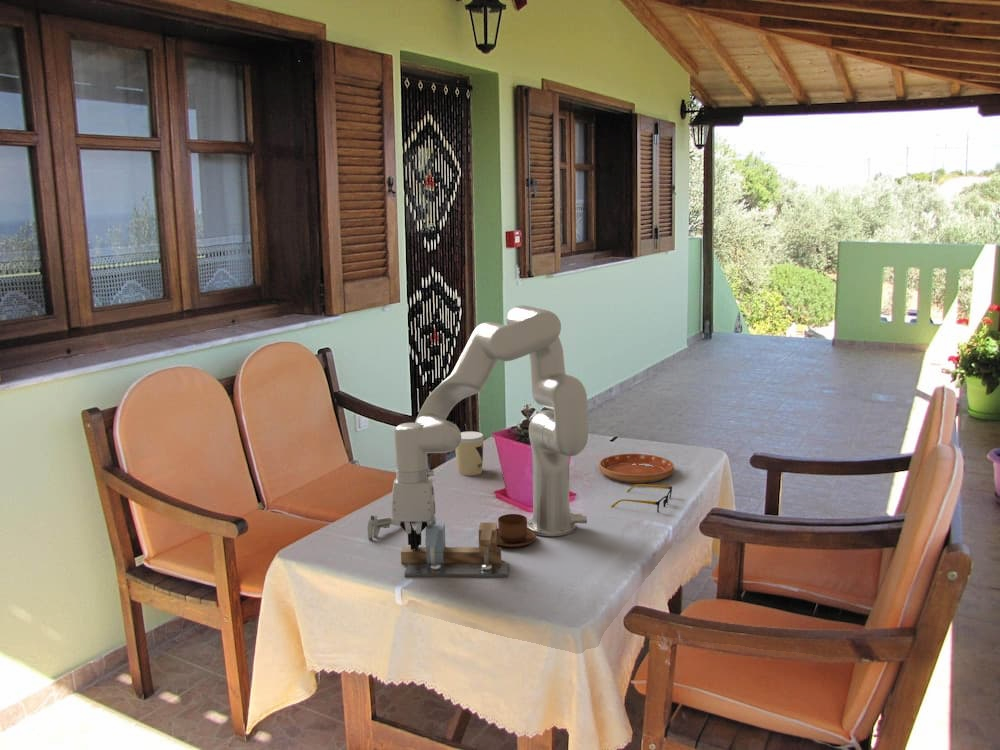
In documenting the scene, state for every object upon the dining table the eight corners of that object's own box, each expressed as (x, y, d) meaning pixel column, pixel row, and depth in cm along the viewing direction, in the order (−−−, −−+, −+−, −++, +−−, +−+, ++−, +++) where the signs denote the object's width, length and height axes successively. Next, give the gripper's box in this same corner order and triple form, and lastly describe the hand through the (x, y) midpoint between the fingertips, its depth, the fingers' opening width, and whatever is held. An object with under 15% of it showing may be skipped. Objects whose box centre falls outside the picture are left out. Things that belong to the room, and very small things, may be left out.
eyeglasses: (660, 515, 253) (661, 501, 252) (610, 508, 259) (610, 495, 258) (674, 499, 266) (675, 486, 265) (626, 492, 272) (626, 479, 271)
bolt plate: (508, 566, 220) (508, 560, 220) (507, 577, 215) (507, 570, 214) (408, 566, 222) (408, 559, 222) (404, 576, 216) (404, 570, 216)
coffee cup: (484, 476, 288) (483, 439, 286) (454, 476, 288) (453, 439, 286) (485, 467, 297) (484, 430, 295) (455, 467, 297) (454, 431, 295)
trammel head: (445, 555, 227) (444, 522, 225) (440, 574, 216) (439, 539, 214) (429, 555, 227) (428, 522, 225) (423, 574, 216) (421, 539, 214)
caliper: (371, 541, 239) (369, 517, 237) (367, 540, 239) (366, 516, 238) (425, 517, 255) (424, 495, 253) (422, 516, 255) (421, 494, 254)
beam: (501, 557, 226) (500, 522, 224) (498, 576, 215) (498, 539, 213) (403, 556, 227) (402, 522, 226) (396, 575, 217) (394, 539, 215)
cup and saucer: (481, 539, 238) (480, 516, 237) (521, 529, 244) (520, 507, 243) (504, 554, 228) (503, 531, 227) (545, 544, 234) (545, 521, 233)
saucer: (600, 462, 300) (600, 451, 299) (672, 464, 297) (672, 453, 296) (597, 485, 278) (597, 473, 277) (675, 487, 275) (675, 475, 274)
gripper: (445, 470, 223) (447, 541, 227) (383, 470, 224) (387, 541, 228) (441, 480, 216) (443, 553, 220) (377, 479, 217) (381, 553, 221)
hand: (415, 547), depth 224 cm, fingers closed
